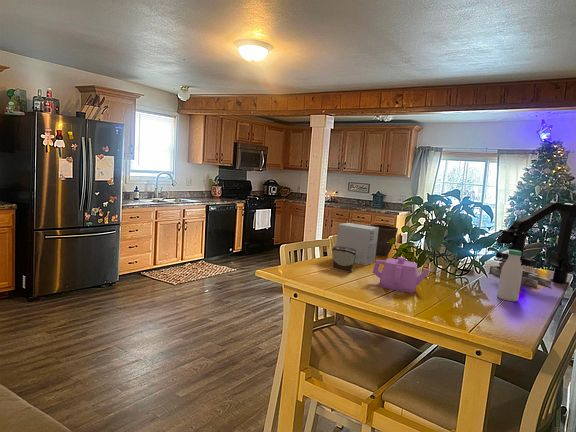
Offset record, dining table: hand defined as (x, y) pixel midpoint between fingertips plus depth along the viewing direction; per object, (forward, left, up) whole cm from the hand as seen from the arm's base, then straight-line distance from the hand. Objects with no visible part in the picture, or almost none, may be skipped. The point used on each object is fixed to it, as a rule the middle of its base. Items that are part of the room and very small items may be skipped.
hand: (512, 275), depth 211 cm
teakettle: (+78, +7, -1) cm, 78 cm away
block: (-1, -3, 0) cm, 3 cm away
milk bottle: (+39, +27, -1) cm, 47 cm away
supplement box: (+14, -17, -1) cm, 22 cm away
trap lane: (0, +3, -1) cm, 3 cm away
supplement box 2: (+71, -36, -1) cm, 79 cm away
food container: (+87, -20, -1) cm, 89 cm away
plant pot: (+46, -48, -1) cm, 66 cm away
